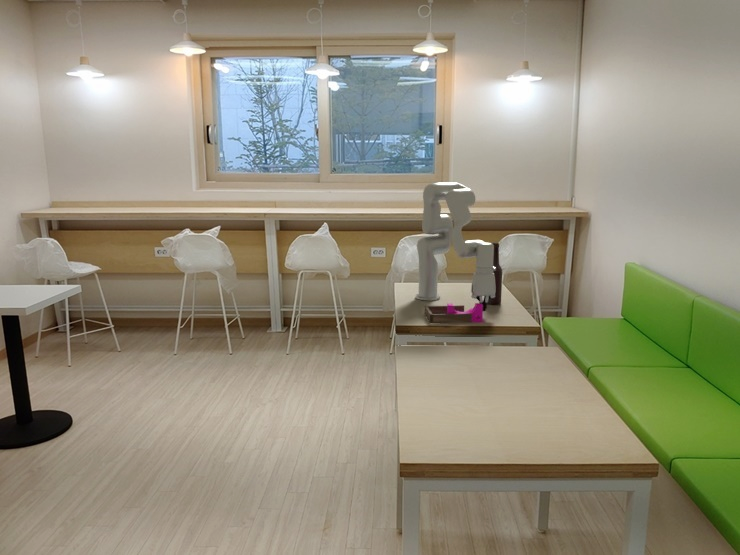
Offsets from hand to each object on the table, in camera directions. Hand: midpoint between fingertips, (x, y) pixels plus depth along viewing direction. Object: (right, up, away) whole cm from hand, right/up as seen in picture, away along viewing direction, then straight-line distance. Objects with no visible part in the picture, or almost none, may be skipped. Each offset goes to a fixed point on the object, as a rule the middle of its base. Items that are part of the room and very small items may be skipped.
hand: (482, 310), depth 263 cm
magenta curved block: (-9, -4, -3) cm, 10 cm away
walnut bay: (-16, -4, -1) cm, 16 cm away
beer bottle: (+10, +2, +25) cm, 27 cm away
